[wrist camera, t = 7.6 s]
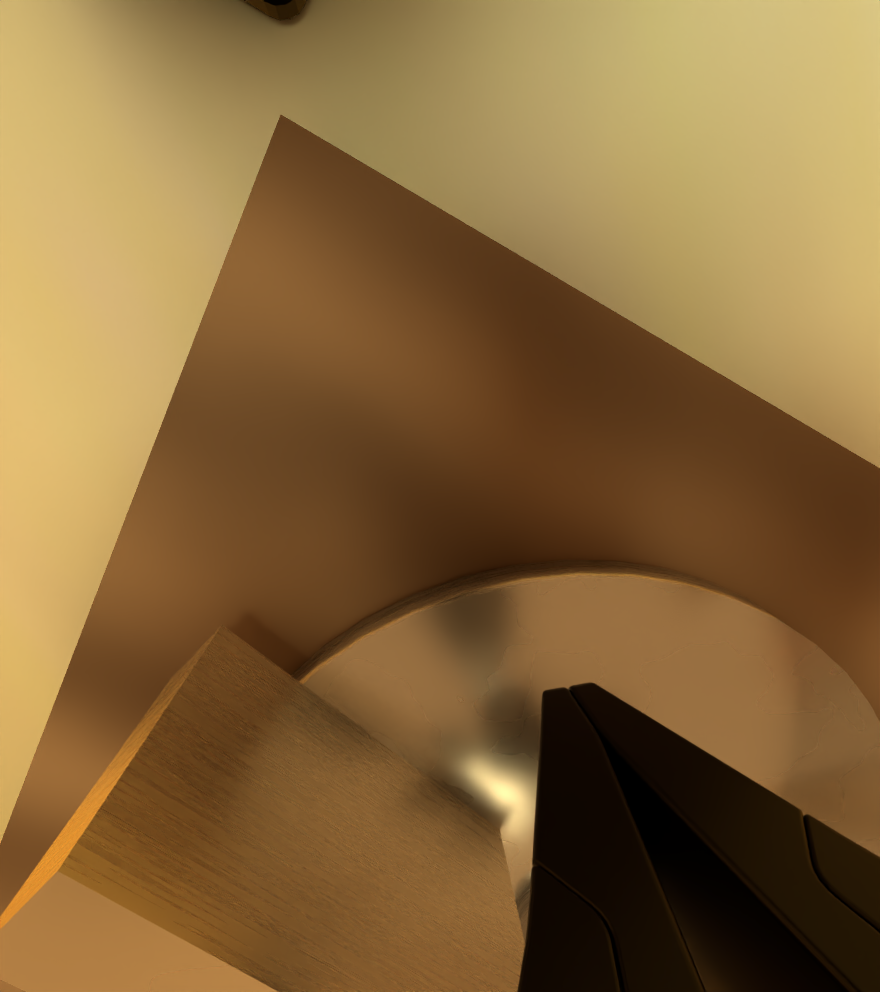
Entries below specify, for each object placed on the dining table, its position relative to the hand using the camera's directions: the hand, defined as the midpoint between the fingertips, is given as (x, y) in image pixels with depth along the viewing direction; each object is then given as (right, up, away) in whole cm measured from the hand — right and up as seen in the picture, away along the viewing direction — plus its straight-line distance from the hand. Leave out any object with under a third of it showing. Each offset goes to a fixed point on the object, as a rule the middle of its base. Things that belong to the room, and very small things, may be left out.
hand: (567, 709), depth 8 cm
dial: (+1, -7, +5) cm, 9 cm away
